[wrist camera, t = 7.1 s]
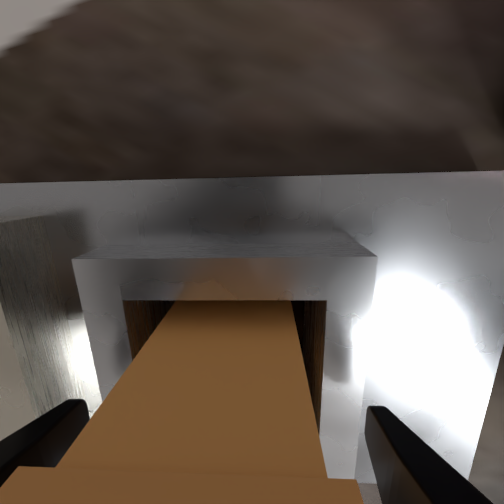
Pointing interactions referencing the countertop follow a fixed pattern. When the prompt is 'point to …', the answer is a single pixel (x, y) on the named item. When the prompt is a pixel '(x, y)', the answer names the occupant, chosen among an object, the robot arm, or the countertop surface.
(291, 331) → the wedge pin
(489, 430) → the countertop surface
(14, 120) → the countertop surface
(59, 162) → the countertop surface
